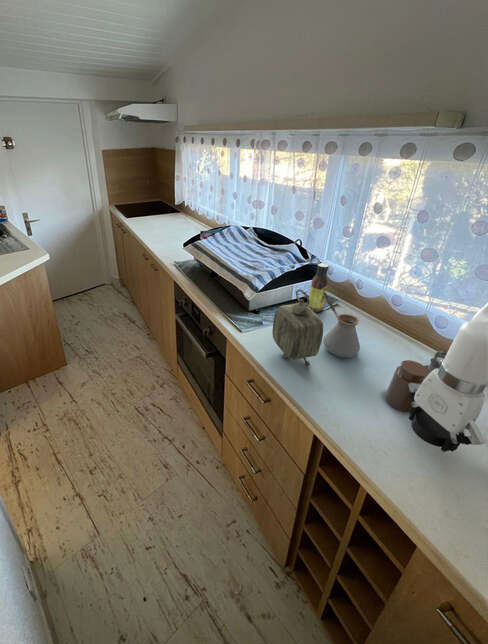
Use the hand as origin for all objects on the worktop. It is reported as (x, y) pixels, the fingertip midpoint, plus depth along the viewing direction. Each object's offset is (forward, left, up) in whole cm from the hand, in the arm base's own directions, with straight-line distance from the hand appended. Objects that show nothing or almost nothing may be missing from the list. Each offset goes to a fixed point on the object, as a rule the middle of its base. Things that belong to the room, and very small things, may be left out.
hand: (430, 433), depth 71 cm
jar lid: (0, 0, +3) cm, 3 cm away
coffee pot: (+16, -38, -5) cm, 42 cm away
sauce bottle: (+20, -60, -5) cm, 63 cm away
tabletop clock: (+30, -26, -5) cm, 40 cm away
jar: (+1, -14, -5) cm, 15 cm away
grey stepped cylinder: (-10, -25, -5) cm, 28 cm away
